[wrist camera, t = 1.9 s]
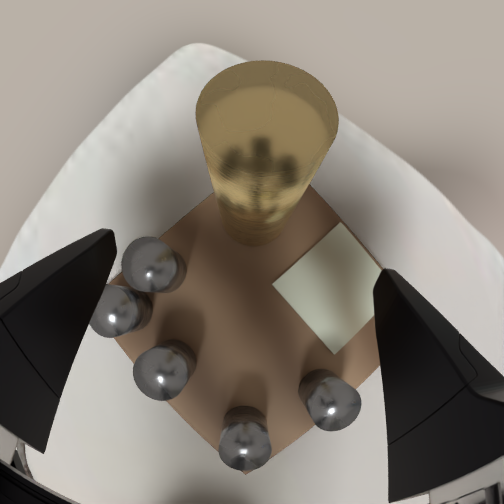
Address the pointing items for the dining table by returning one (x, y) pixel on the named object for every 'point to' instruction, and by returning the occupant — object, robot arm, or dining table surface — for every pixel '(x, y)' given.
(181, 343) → the spacer posts
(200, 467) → the dining table surface
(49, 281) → the robot arm
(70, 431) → the dining table surface
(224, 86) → the disc
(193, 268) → the walnut board
